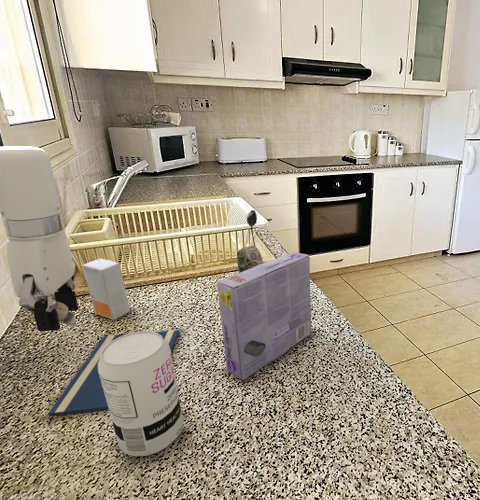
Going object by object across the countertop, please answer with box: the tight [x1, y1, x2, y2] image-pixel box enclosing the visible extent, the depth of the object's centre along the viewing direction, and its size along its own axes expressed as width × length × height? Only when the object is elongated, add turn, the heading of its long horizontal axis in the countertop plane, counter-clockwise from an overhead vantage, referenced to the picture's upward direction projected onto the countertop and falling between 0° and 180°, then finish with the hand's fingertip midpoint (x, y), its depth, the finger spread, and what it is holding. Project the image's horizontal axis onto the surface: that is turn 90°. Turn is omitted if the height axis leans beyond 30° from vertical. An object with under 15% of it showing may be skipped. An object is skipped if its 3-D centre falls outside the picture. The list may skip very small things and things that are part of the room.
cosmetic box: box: [82, 258, 131, 321], centre depth 80 cm, size 6×4×12 cm
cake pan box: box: [216, 251, 312, 382], centre depth 68 cm, size 19×5×18 cm, turn 145°
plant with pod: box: [236, 209, 264, 273], centre depth 91 cm, size 8×11×20 cm
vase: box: [38, 297, 78, 331], centre depth 66 cm, size 5×5×6 cm
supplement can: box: [98, 330, 184, 457], centre depth 50 cm, size 8×8×15 cm
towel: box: [47, 329, 180, 417], centre depth 66 cm, size 14×20×1 cm
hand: (59, 319), depth 68 cm, fingers closed on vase, 5 cm apart
